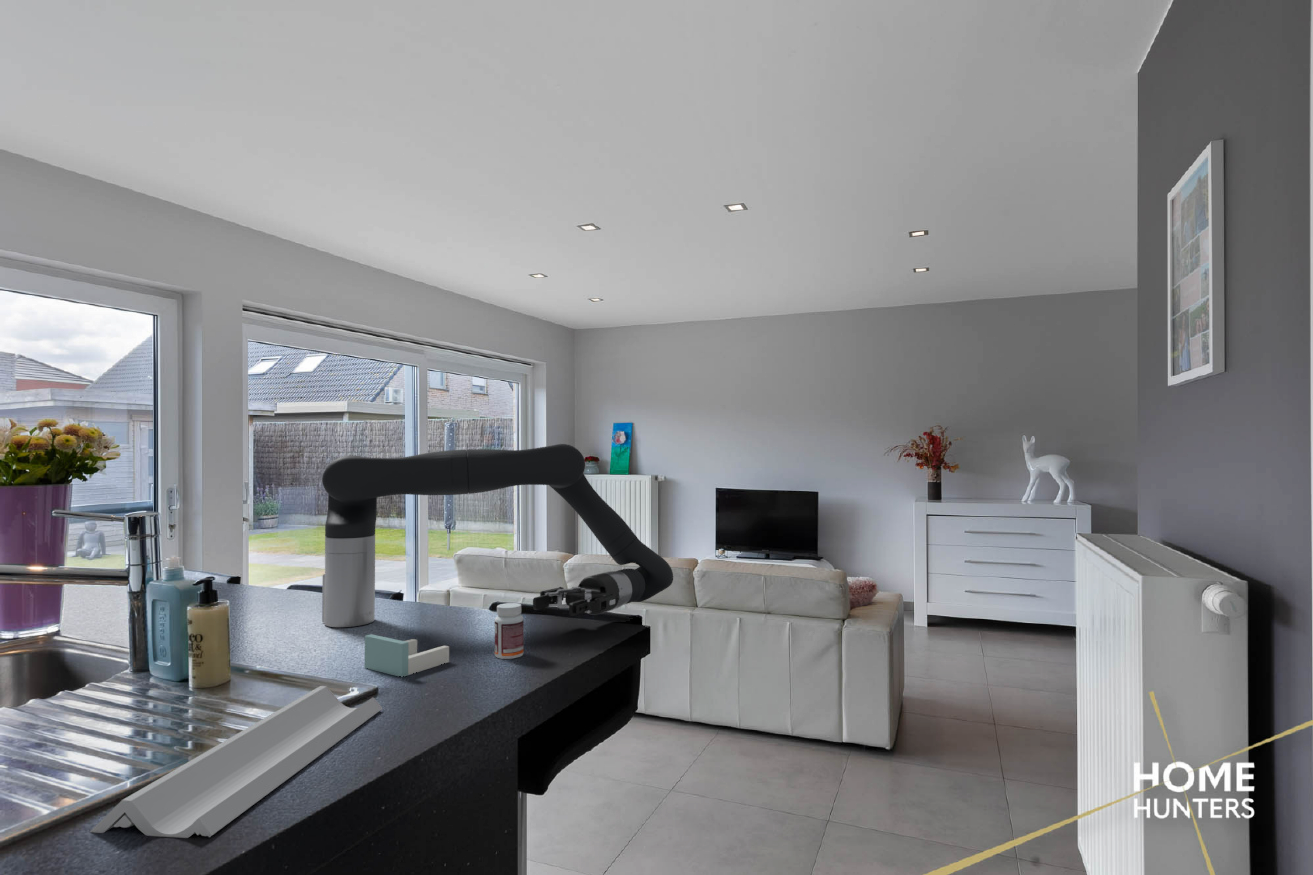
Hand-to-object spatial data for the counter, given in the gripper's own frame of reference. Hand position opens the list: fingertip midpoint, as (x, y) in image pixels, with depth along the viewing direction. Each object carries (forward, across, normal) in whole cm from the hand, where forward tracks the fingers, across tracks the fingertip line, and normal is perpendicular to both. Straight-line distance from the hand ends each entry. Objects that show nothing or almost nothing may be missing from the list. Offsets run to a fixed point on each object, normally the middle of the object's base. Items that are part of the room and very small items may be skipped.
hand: (552, 606), depth 129 cm
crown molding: (+55, +5, +7) cm, 56 cm away
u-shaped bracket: (+23, -10, +6) cm, 26 cm away
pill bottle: (+11, 0, +6) cm, 13 cm away
